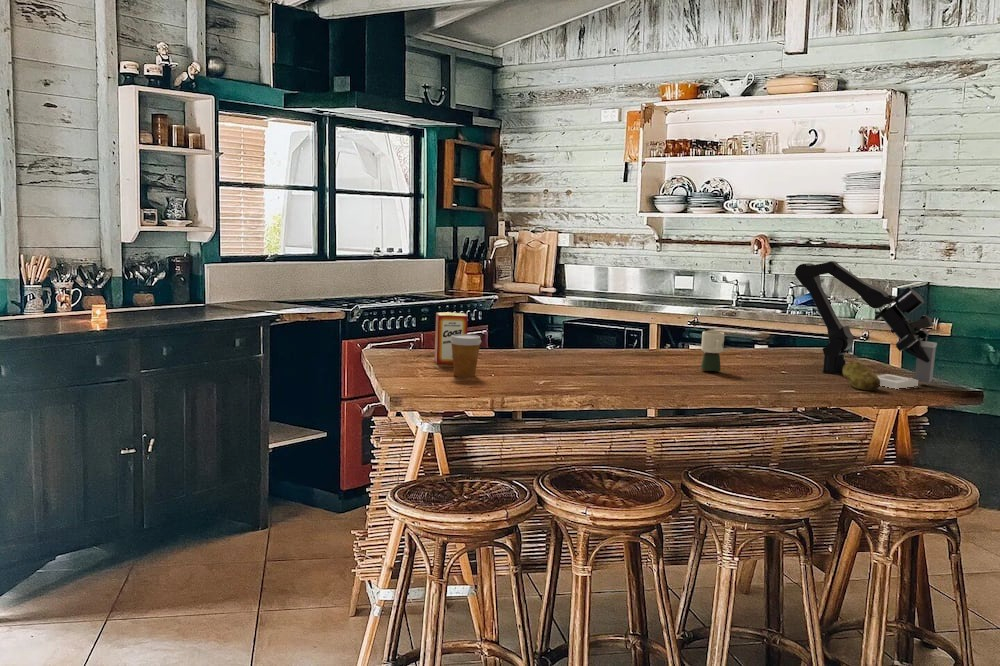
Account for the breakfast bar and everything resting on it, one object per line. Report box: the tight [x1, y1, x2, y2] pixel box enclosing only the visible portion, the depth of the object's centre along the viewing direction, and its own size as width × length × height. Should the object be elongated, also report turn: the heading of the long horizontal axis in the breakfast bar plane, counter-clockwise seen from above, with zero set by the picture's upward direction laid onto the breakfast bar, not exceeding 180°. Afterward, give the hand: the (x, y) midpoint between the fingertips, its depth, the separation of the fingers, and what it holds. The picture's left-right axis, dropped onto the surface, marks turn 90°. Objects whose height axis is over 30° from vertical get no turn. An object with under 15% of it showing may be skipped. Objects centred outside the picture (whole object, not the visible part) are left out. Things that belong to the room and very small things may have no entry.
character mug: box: [700, 330, 725, 373], centre depth 322 cm, size 11×7×13 cm, turn 7°
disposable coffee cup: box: [450, 333, 482, 378], centre depth 297 cm, size 10×10×12 cm
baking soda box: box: [434, 311, 469, 365], centre depth 318 cm, size 10×6×16 cm
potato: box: [842, 360, 880, 392], centre depth 305 cm, size 8×13×8 cm, turn 7°
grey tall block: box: [914, 340, 938, 383], centre depth 313 cm, size 5×5×12 cm
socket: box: [875, 373, 919, 390], centre depth 312 cm, size 11×11×3 cm
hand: (930, 360), depth 312 cm, fingers closed on grey tall block, 4 cm apart
